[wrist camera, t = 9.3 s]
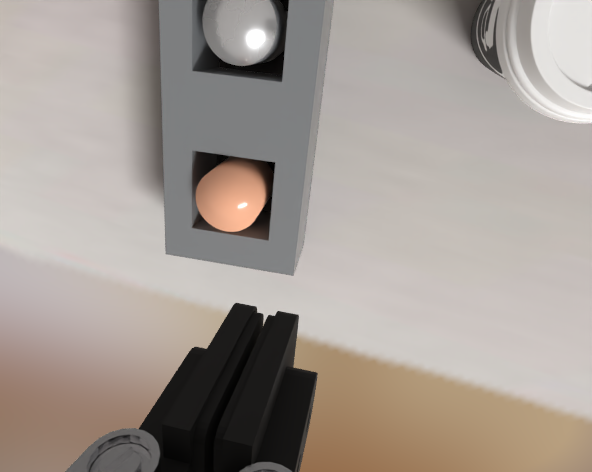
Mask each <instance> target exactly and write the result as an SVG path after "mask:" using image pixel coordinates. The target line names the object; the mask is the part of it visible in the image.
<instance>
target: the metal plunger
mask: <svg viewBox="0 0 592 472" xmlns="http://www.w3.org/2000/svg"><path fill="white" fill-rule="evenodd" d="M287 19H288V13H287V11H286V9H285V7H284V6H283V4H282V3H281V2H280V1H279V0H207V3H206V5H205V8H204V12H203V20H202V21H203V31H204V35H205V38H206V41H207V43H208V45H209V47H210V48H211V50H212V51H213V52H214V53H215V54H216V55H217V56H218V57H219V58H220V59H222V60H223V61H225V62H227V63H229V64H232V65H237V66H245V65H253V64H260V63H266V62H269V61H272V60H274V59H275V58H277V57H278V56H279V55H280V54H281V53H282V52H283V50H284V49H285V42H286V31H287Z"/></svg>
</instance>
